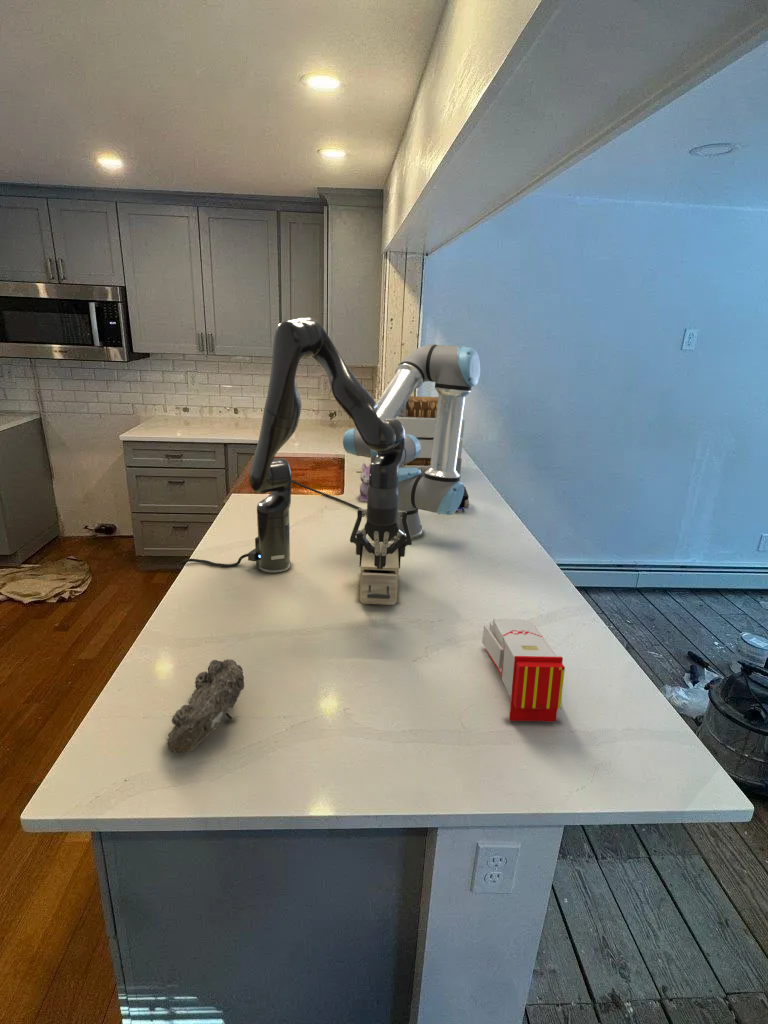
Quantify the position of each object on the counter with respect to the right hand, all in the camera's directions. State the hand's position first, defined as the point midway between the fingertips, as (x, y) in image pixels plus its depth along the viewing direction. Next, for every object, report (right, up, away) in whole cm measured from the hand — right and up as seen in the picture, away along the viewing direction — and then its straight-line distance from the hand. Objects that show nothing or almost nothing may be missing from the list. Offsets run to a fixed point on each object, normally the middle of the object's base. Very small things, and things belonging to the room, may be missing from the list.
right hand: (379, 565), depth 162 cm
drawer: (0, -7, -8) cm, 11 cm away
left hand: (0, +1, -19) cm, 19 cm away
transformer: (+18, +34, +113) cm, 119 cm away
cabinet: (0, -6, -1) cm, 6 cm away
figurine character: (+31, +17, +67) cm, 75 cm away
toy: (+30, -21, -39) cm, 53 cm away
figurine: (-5, +21, +73) cm, 76 cm away
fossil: (-32, -24, -54) cm, 67 cm away
